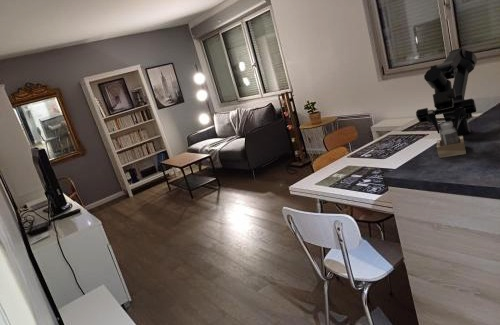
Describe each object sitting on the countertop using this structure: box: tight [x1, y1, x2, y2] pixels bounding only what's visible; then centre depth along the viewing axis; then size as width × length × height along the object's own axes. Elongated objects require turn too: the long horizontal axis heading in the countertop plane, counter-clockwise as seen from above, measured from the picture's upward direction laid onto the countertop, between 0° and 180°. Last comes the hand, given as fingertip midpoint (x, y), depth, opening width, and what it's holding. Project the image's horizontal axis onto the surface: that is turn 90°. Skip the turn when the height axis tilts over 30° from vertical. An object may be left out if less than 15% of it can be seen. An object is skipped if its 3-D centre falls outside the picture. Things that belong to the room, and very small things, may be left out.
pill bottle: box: [439, 121, 459, 146], centre depth 129 cm, size 5×5×10 cm
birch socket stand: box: [436, 135, 467, 159], centre depth 129 cm, size 8×8×4 cm
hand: (447, 131), depth 127 cm, fingers closed on pill bottle, 5 cm apart
